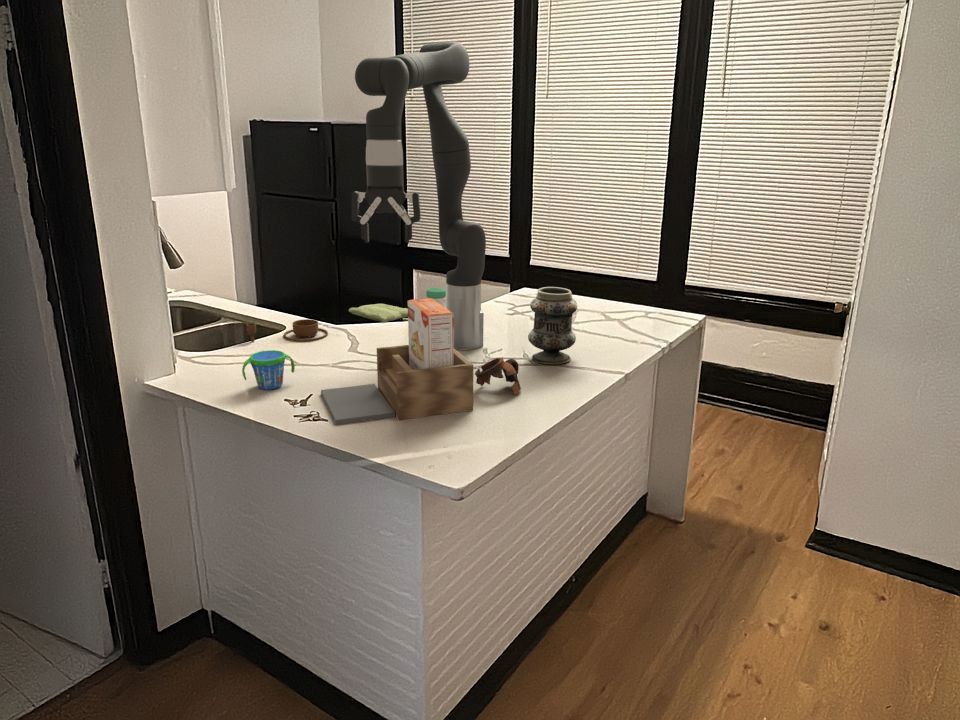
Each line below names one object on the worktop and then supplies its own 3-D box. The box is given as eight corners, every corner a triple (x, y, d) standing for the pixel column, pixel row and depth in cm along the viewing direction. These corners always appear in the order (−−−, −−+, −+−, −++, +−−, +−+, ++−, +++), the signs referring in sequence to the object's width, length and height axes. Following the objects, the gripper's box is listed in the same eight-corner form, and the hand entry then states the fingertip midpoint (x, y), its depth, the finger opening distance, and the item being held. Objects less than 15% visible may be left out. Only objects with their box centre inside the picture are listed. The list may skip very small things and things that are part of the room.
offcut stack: (406, 392, 161) (405, 353, 158) (421, 411, 150) (421, 370, 147) (386, 394, 159) (385, 355, 156) (401, 414, 148) (399, 372, 146)
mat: (374, 387, 163) (374, 383, 162) (394, 416, 147) (394, 412, 146) (321, 394, 159) (320, 389, 158) (336, 424, 143) (335, 420, 142)
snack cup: (245, 395, 158) (242, 363, 155) (242, 384, 164) (239, 353, 162) (298, 388, 162) (296, 357, 160) (293, 378, 169) (290, 347, 166)
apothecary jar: (584, 358, 184) (588, 290, 179) (555, 369, 176) (558, 297, 170) (546, 349, 192) (549, 282, 187) (517, 358, 184) (519, 289, 178)
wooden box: (445, 382, 167) (445, 341, 163) (473, 410, 151) (473, 364, 147) (378, 390, 161) (376, 347, 158) (398, 420, 145) (397, 373, 142)
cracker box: (407, 389, 162) (406, 299, 155) (433, 386, 164) (432, 297, 157) (427, 412, 149) (426, 314, 143) (454, 408, 152) (455, 311, 145)
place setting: (319, 349, 192) (317, 328, 190) (245, 347, 193) (243, 326, 191) (334, 331, 209) (333, 311, 207) (266, 329, 209) (265, 309, 208)
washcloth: (378, 309, 234) (378, 299, 233) (414, 319, 222) (414, 308, 221) (345, 316, 224) (345, 306, 223) (381, 327, 213) (381, 316, 212)
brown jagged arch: (513, 401, 156) (495, 369, 154) (481, 410, 161) (463, 379, 160) (536, 375, 164) (519, 344, 163) (505, 384, 170) (488, 355, 169)
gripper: (420, 162, 151) (421, 239, 156) (353, 161, 151) (356, 239, 156) (418, 164, 144) (419, 245, 149) (346, 163, 144) (350, 244, 149)
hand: (386, 242), depth 152 cm, fingers open, 8 cm apart
